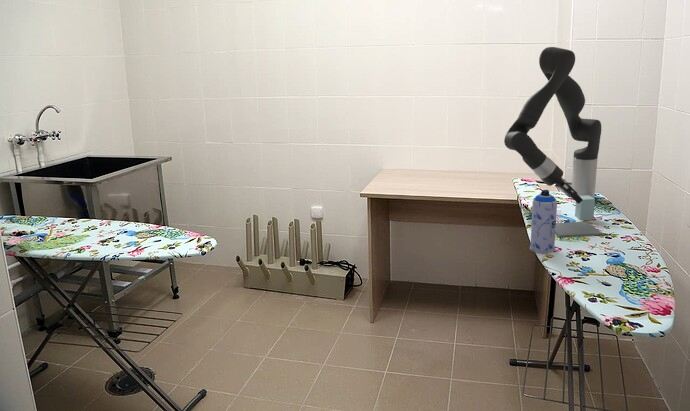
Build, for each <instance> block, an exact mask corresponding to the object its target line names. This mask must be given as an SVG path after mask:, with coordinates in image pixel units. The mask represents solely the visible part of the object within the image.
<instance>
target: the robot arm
mask: <svg viewBox="0 0 690 411" xmlns="http://www.w3.org/2000/svg"><path fill="white" fill-rule="evenodd" d="M538 58H539V60H538V62H539V63H538V64H539V69H541V72H542V74H544V77H545V78H546V79H547V82H546V83H545V84H544V85H543V86H542V87H540V88H539V89H538V90H537V91H536V92H534V93H533V94H532V95H531V96H530V97H529V98H528V99H527V100H526V102H524V103H525V104H523V106H522V109H521V111H520V112H519V114H518V117H517V118H516V120H515V121H514V122H513V123H512V125H511V126H510V128H508V130H507V131H506V134H505V135H504V140H503V143H504V145H505V147H506V148H507V149H508V150H511V151H515V152H517V153H518V154H519V156H521V157H522V161H523V163H525V164H526V166H528V167H529V168H530V169H531V170H532V172H534V174H535V175H536V176H537V177H538V178H539V179H540V180H541V181H542V182H543V183H544V184H545V185H546V186H549V187H551V186H554V187H555V188H556V189H557V190H559V191H561V192H563V193H564V194H565V195H566V196H567V197H568V198H571V199H573V200H574V202H575V203H576V202H577V203H578V204H579V203H580V202H582V200H583V199H582V198H581V197H580V196H588V195H590V196H591V197H593V198H594V199H595V196H596V186H597V185H596V183H597V172H598V170H597V169H598V157H599V153H600V152H599V151H600V143H601V136H602V123H601V121H600V120H599V119H595V118H594V119H592V118H582V117H581V116H580V114H581V112H582V110H583V108H584V107H585V104H586V97H585V94H584V92H583V89H582V88H581V86H580V85H579V83H578V82H577V81H576V80H575V79H573V78H572V77H571V76H570V73H571V72H572V70H573V68H574V66H575V63H576V55H575V53H574V51H572V50H571V49H570V50H569V49H566V48H561V47H556V46H548V47H545V48H543V50H541V52H540V54H539V57H538ZM554 95H555V97H556V99H557V102H558V104H559V107H560V108H561V111H562V112H563V114H564V117H565V120H566V123H567V126H568V130H569V133H570V136H571V137H572V139H573V140H574V141H577V142H585V143H586V142H587V146H585V147H582V148H578V149H575V150H574V151H573V158H572V160H573V161H572V175H571V184H569V183H568V182H567V180H566V179H565V178H563V176H564V171H563V169H562V168H560V167H559V165H557V164H556V163H555V162H554V161H553V160H552V159H551V158H550V157H548V156H547V155H546V154H545V153H544V151H542V150H541V149H540V148H539V146H537V144H536V143H535V142H534V140H533V139H532V137H531V136H530V135H528V133H529V132H530V130H532V129H534V128H535V127H536V126H537V124H538V122H539V120H540V119H541V117H542V115H543V112H544V111H545V109H546V107H547V106H548V104H549V102H550V101H551V100H552V98H553V97H554Z"/></svg>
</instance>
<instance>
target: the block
mask: <svg viewBox="0 0 690 411" xmlns="http://www.w3.org/2000/svg"><path fill="white" fill-rule="evenodd" d="M580 197H581V198H582V199H583V200H582V202H580V203H579V204H578V203H577V202H576V201H575V209H574V210H575V211H574V217H575V218H577V219H578V220H579V221H588V220H591V221H593V220H594V218H595V217H594V216H595V206H596V198H595V197H594V198H593V197H591V196H590V195H588V196H580Z"/></svg>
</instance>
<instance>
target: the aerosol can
mask: <svg viewBox="0 0 690 411" xmlns="http://www.w3.org/2000/svg"><path fill="white" fill-rule="evenodd" d="M531 205H532V210H531V226H530V229H531V230H530V246H529V250H530V251H531V252H534V253H537V254H551V253H554V252H555V251H556V248H555V244H556V233H555V229H556V223H557V212H558V210H557V208H558V200H557V199H556V198H555V196H554V195H552V194H550V190H549V189H543V190H541V193H539V194H538V195H536V196H535V197H534V198H533V199H532V204H531Z"/></svg>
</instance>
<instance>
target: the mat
mask: <svg viewBox="0 0 690 411" xmlns="http://www.w3.org/2000/svg"><path fill="white" fill-rule="evenodd" d="M555 235H557V236H558V237H559V238H565V237H585V236H586V237H588V236H590V237H591V236H604V233H603V232H602V231H600V230H599V229H598V228H596V226H594V225H593V224H591V223H590V222H588V221H575V222H574V221H572V222H570V221H569V222H556V229H555Z"/></svg>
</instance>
